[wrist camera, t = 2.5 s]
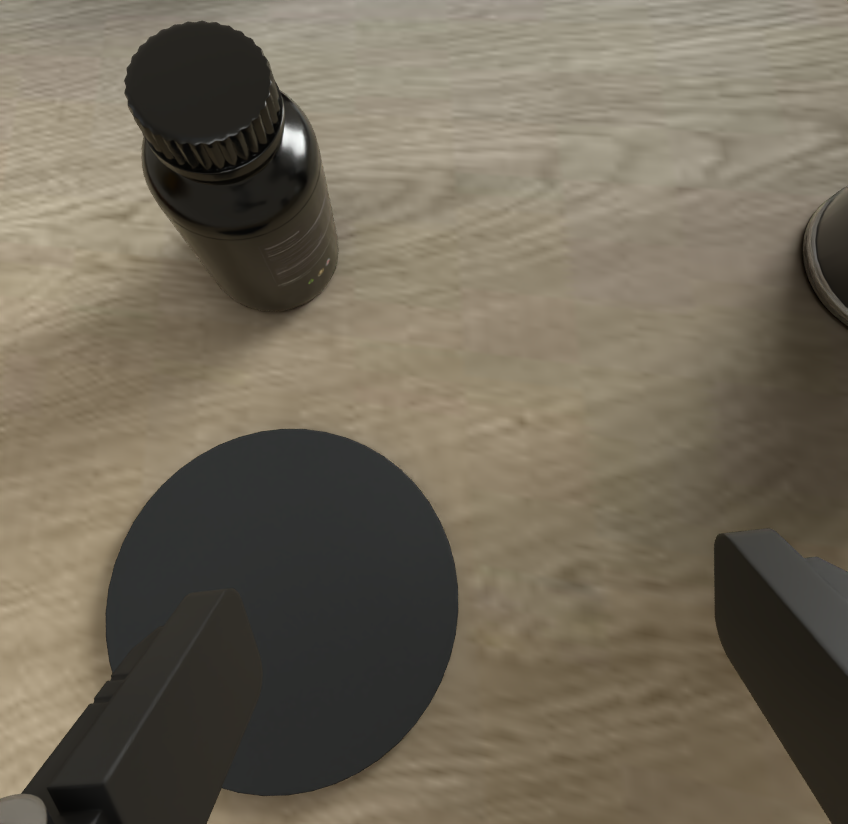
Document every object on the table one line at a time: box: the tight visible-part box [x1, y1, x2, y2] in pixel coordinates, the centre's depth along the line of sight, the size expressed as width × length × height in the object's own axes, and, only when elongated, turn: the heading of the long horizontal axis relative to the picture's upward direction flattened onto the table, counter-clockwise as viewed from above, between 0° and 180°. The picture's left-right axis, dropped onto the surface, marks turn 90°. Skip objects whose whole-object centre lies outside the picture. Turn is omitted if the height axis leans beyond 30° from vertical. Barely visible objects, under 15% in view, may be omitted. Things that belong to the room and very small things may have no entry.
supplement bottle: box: [124, 21, 338, 311], centre depth 24 cm, size 7×7×12 cm
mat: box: [106, 429, 458, 796], centre depth 26 cm, size 16×16×1 cm
